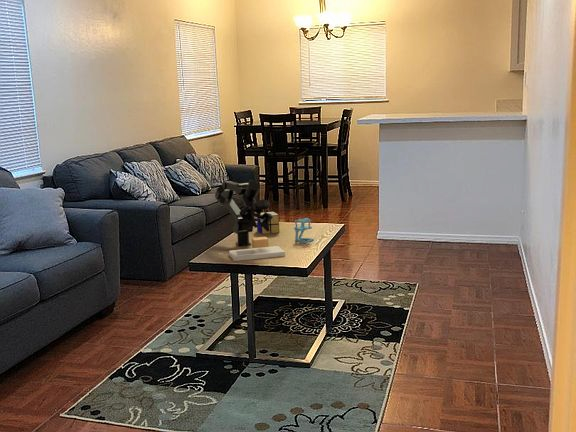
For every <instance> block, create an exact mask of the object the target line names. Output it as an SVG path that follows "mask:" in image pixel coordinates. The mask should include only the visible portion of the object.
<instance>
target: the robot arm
mask: <svg viewBox="0 0 576 432" xmlns="http://www.w3.org/2000/svg"><path fill="white" fill-rule="evenodd" d="M260 189H261V185H260V184H259V183H258V182H256V181H254V180H253V179H250V180H248V182H244V183H243V182H241V183H238V182H235V181H233V180H232V181H231V180H225V181H223V182H221V185H220V186H219V187H217V188H216V190H215V194H214V198H215V199H216V201H217V202H218V203H219V204H222V205H224V206H225V208H226V209H227V210H228V212H229V214H230V215H232V217H233V219H234V221H235V222H234V225H233V227H232V231H233V233H234V234H236V235H237V242H235V244H236V245H237V246H238V247H240V246H241V247H242V246H250V245H251V246H252V242H250V234H249V233H252V232H253V231H254V228H256V229H257V219H258V221H259V223H260V225H261V226H262V227H263V228H264V229H265V230H266V231H267V232H269V221H270V220H271V219H272V218H273V217H272V215H271V214H269V213H266V212H264V210H267V209H269V208H271V204H272V203H270V201H268V200H267V199H263V198H262V199H261V200H258V201H256V197H257V195H258V193H259V190H260ZM234 194H236V195H237V196H242V197H241V201H240V203H241V204H243V206H244V207H243V208H242V209H240V208H239V206H238V205H237V204H236V202H235V200H234V199H233V195H234ZM261 213H264V214H263V215H260V214H261Z"/></svg>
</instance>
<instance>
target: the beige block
mask: <svg viewBox="0 0 576 432" xmlns="http://www.w3.org/2000/svg"><path fill="white" fill-rule="evenodd" d="M262 247H270V245H269V238H268V237H267V236H258V237H251V249H252V248H262Z"/></svg>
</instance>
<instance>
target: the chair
mask: <svg viewBox="0 0 576 432" xmlns="http://www.w3.org/2000/svg"><path fill="white" fill-rule="evenodd" d="M311 222H312V220H311V219H310V218H309V217H304V218H301V219H300V218H299V219H297V220H294V224H295V227H293V230H294V231H295V239H294V240H295V242H299V243H301V244H307V243H310V242H313V241H315V238H311V237H302V236H303V234H304V232H305V231H307V230H311V229H312V226H311ZM298 223H300V225H299V226H298ZM307 223H308V225H307V226H306V225H305V224H307ZM299 232H300V233H299Z"/></svg>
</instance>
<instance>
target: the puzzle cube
mask: <svg viewBox="0 0 576 432" xmlns="http://www.w3.org/2000/svg"><path fill="white" fill-rule="evenodd" d="M264 213H269V214H271V215H272V217H273V218H272V219H271V220H270V221H269V232H267V231H266V230H265V229H264V228H263V227H262V226H261V225H260V223H259V221H258V219H256V224H257V228H256V231H257V232H259V233H260V234H261V235H268V234H279V233H280V215H279V214H278V213H276V212H274V211H268V212H262V213H261V214H260V215H263V214H264Z"/></svg>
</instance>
